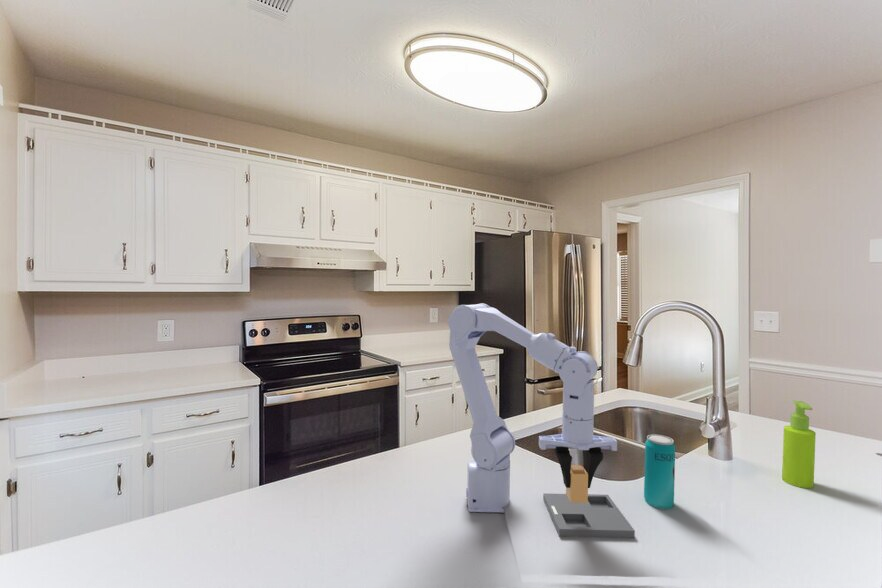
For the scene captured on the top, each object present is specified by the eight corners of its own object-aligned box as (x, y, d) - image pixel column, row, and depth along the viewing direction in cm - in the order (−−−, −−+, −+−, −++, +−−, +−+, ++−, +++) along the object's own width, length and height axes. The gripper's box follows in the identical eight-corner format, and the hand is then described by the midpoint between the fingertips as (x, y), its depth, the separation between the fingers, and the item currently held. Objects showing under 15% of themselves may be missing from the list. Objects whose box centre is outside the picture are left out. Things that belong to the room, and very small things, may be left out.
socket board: (559, 541, 77) (559, 528, 77) (542, 501, 91) (542, 490, 91) (634, 543, 77) (634, 530, 77) (605, 502, 91) (605, 491, 91)
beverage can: (677, 515, 86) (679, 444, 86) (648, 512, 87) (649, 442, 87) (668, 501, 92) (670, 434, 91) (640, 498, 93) (642, 432, 92)
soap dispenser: (789, 487, 98) (792, 404, 98) (778, 475, 105) (780, 397, 104) (820, 492, 96) (823, 407, 96) (807, 479, 103) (810, 400, 102)
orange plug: (570, 502, 78) (571, 471, 78) (565, 493, 81) (566, 463, 81) (587, 502, 78) (588, 471, 78) (582, 494, 81) (582, 464, 81)
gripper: (544, 422, 75) (543, 495, 76) (624, 423, 75) (623, 496, 75) (536, 410, 82) (535, 477, 83) (609, 411, 82) (608, 478, 82)
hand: (576, 485), depth 79 cm, fingers closed on orange plug, 3 cm apart
